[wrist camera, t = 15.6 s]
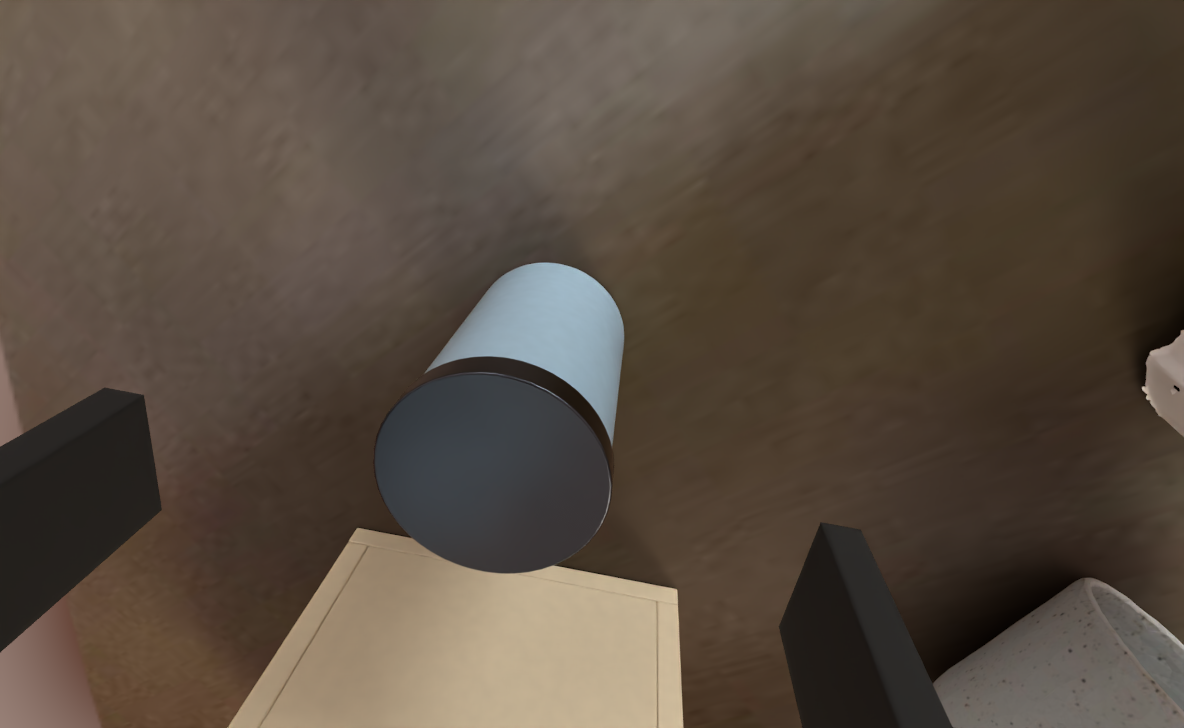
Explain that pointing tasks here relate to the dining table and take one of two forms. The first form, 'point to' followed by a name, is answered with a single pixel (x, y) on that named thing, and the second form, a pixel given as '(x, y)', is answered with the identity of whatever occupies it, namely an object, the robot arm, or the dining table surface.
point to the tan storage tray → (471, 648)
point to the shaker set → (1167, 382)
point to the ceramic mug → (1072, 668)
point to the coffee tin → (510, 427)
